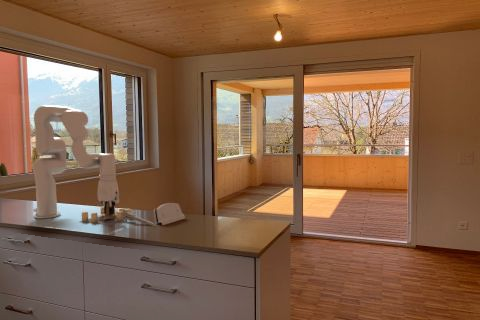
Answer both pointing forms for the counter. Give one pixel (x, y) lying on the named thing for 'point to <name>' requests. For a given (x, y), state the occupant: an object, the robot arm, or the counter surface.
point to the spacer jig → (104, 222)
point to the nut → (100, 217)
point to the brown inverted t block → (108, 213)
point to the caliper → (135, 218)
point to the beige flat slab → (168, 213)
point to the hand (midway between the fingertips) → (109, 213)
